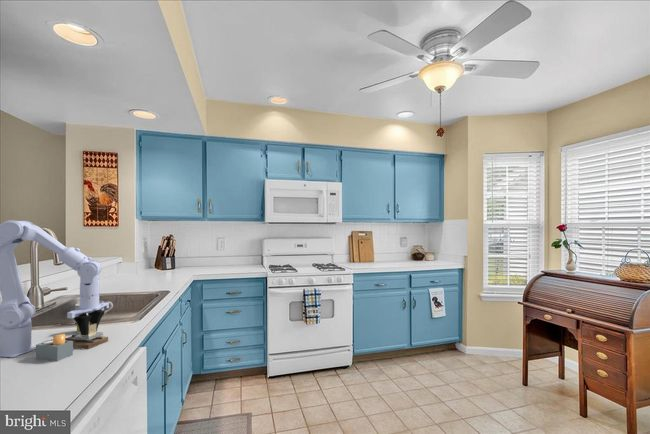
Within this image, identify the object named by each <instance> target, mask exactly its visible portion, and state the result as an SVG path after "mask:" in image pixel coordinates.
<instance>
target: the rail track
mask: <svg viewBox="0 0 650 434" xmlns="http://www.w3.org/2000/svg"><path fill="white" fill-rule="evenodd" d="M77 335H79V333H76V334H71V336H68V337H65V340H66V341H73V349H82V350H89V349H92V348H94V347H95V348H96V347H97V346H99V345H102V344H105V343H107V342H109V336H104V335H102V336H99V337H96V338H94V339H91V340H78V339H75V336H77Z"/></svg>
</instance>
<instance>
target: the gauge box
mask: <svg viewBox="0 0 650 434" xmlns="http://www.w3.org/2000/svg"><path fill="white" fill-rule="evenodd" d="M35 347H36V349H35V360H43V361H52V362H59V361H62V360H64V359H67V358H69V357H71V356H73V355H74V353H73V352H74V348H73V341H66V340H65V343H64V344H61V345H59V346H56V345H53V338H52V339H48V340H44V341H42V342H40V343H37V344H35Z"/></svg>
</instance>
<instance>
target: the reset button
mask: <svg viewBox="0 0 650 434" xmlns="http://www.w3.org/2000/svg"><path fill="white" fill-rule="evenodd" d="M65 338H66V334H65V333H60V334H59V333H58V334H55V335H53V336H52V339H53V345H56V346H59V345H61V344H64V343H65Z"/></svg>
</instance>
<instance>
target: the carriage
mask: <svg viewBox="0 0 650 434" xmlns="http://www.w3.org/2000/svg"><path fill="white" fill-rule="evenodd" d="M99 336H104V332H102V331H96V323H89V327H88V335H81V334H78V335H77V336H75V339H78V340H91V339H94V338H96V337H99Z"/></svg>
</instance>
